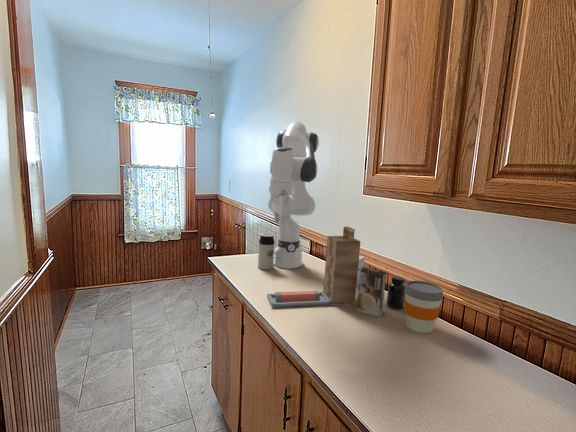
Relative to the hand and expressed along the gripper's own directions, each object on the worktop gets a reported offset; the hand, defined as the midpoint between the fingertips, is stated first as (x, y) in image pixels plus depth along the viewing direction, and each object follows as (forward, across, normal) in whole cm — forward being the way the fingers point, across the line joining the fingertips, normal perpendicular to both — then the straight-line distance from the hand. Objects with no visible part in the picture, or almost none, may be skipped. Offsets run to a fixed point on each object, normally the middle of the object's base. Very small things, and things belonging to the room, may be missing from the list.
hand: (279, 224), depth 129 cm
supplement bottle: (+31, -13, -47) cm, 58 cm away
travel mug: (+31, +40, -3) cm, 51 cm away
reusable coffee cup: (+31, -30, -46) cm, 63 cm away
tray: (+31, -4, -9) cm, 32 cm away
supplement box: (+31, +16, -42) cm, 55 cm away
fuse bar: (+30, -4, -8) cm, 32 cm away
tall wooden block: (+31, -4, -26) cm, 41 cm away
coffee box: (+31, -16, -34) cm, 49 cm away
